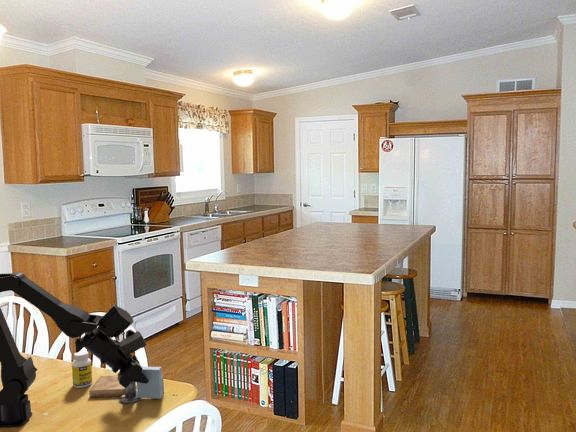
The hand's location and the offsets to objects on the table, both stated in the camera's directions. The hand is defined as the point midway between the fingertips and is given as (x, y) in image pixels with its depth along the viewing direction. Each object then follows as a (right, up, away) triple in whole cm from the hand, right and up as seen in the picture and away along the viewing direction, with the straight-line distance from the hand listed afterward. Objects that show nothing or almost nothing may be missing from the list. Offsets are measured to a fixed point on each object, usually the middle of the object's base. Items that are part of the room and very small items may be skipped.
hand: (147, 381), depth 137 cm
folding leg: (-1, -5, +2) cm, 5 cm away
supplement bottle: (-23, -5, +13) cm, 27 cm away
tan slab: (-10, -5, +7) cm, 14 cm away
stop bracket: (+1, -5, +5) cm, 8 cm away
